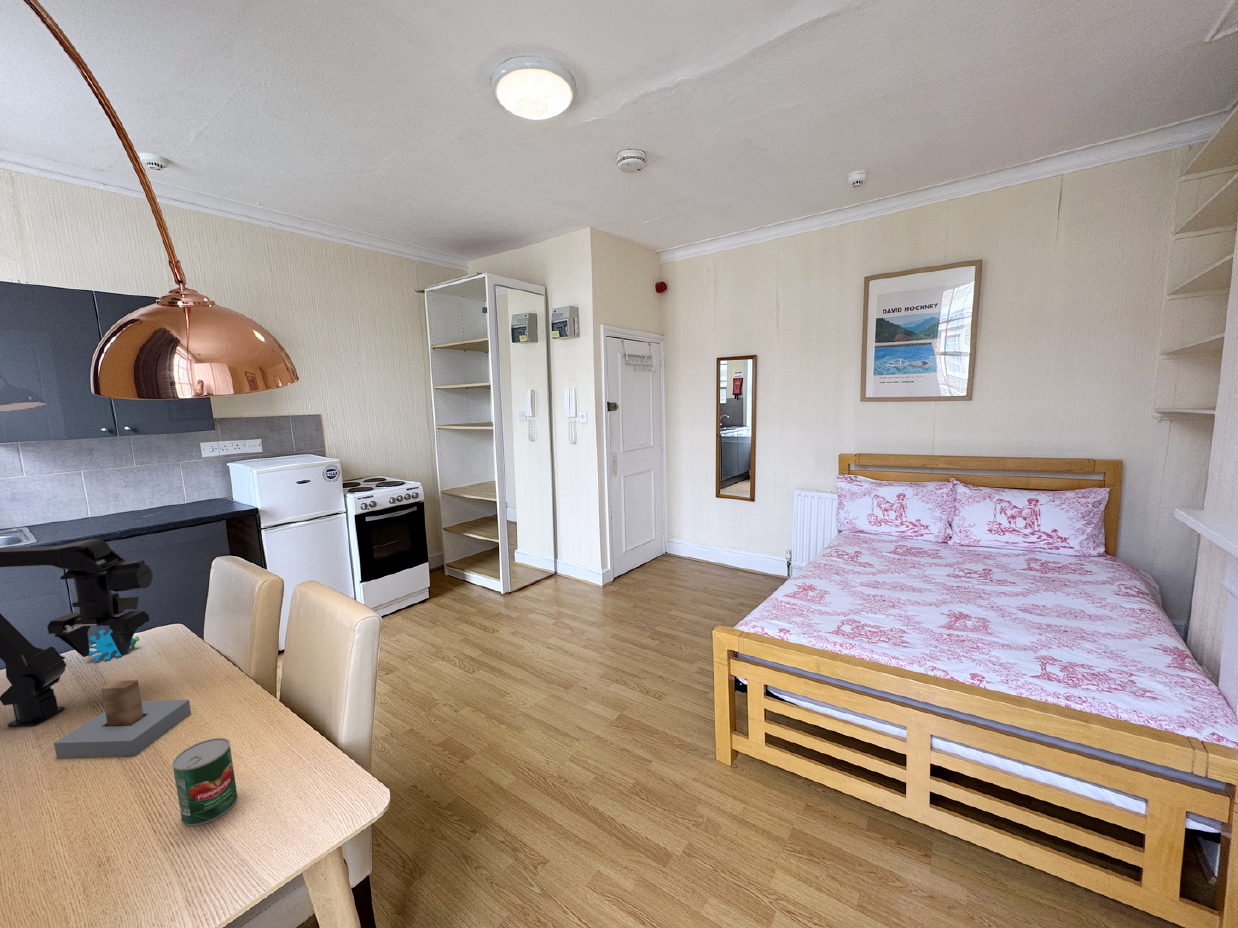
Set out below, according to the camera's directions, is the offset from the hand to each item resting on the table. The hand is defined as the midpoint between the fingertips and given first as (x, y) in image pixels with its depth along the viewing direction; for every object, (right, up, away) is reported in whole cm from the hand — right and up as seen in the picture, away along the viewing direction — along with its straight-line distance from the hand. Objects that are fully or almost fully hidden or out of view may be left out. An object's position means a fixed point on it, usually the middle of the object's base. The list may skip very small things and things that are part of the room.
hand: (105, 655), depth 119 cm
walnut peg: (+14, -14, -9) cm, 22 cm away
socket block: (+14, -14, -9) cm, 22 cm away
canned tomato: (+50, -16, -29) cm, 60 cm away
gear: (-25, -10, +27) cm, 38 cm away
